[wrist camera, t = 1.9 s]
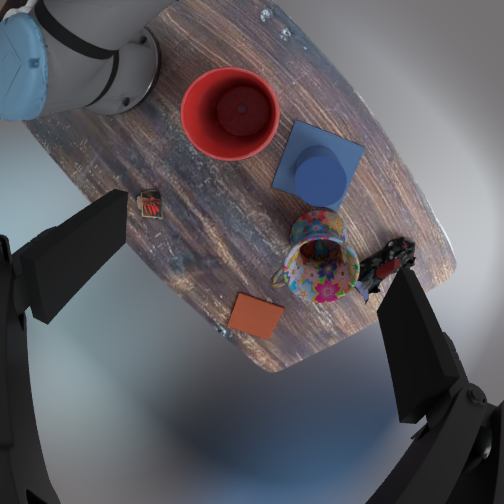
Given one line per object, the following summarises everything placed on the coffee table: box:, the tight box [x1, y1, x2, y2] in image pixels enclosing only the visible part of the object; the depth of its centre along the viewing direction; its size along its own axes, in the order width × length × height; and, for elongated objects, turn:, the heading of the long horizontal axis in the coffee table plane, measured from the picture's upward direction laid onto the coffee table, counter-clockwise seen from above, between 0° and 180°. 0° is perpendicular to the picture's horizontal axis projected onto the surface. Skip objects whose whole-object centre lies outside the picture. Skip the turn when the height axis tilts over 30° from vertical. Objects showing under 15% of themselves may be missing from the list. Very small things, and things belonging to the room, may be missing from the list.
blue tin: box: [294, 146, 347, 207], centre depth 38 cm, size 6×6×8 cm
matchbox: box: [136, 190, 165, 220], centre depth 48 cm, size 5×5×1 cm
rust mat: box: [227, 292, 284, 340], centre depth 55 cm, size 8×8×1 cm
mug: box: [270, 210, 360, 303], centre depth 43 cm, size 12×9×11 cm
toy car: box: [354, 237, 416, 304], centre depth 45 cm, size 6×12×4 cm, turn 132°
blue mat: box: [272, 120, 365, 211], centre depth 42 cm, size 10×10×1 cm
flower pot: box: [180, 67, 280, 161], centre depth 36 cm, size 11×11×10 cm
